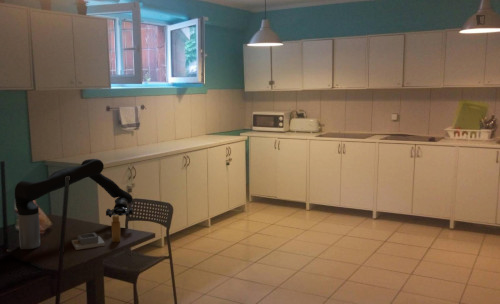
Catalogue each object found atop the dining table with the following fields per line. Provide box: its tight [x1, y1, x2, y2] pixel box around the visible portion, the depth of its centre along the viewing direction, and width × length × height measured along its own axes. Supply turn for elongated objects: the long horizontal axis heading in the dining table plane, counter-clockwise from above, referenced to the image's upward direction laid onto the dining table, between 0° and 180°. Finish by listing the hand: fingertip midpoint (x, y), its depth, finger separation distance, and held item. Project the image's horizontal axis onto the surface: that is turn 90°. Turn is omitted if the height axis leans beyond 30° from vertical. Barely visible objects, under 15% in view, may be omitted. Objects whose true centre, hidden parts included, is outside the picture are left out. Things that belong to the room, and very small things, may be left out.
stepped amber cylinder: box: [110, 215, 122, 243], centre depth 246 cm, size 4×4×13 cm
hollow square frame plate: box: [71, 232, 106, 251], centre depth 241 cm, size 14×12×4 cm
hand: (118, 215), depth 257 cm, fingers open, 8 cm apart
